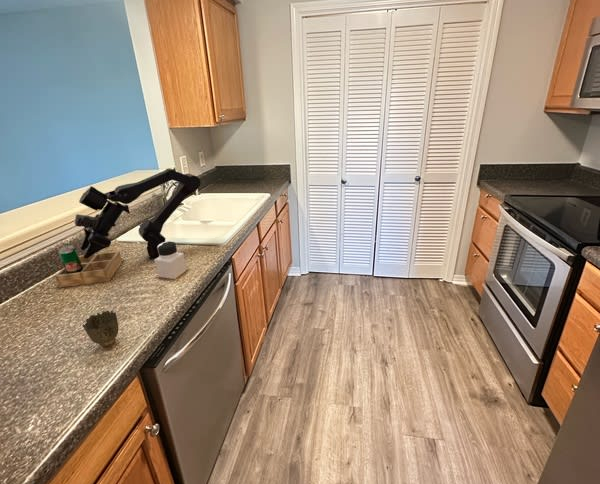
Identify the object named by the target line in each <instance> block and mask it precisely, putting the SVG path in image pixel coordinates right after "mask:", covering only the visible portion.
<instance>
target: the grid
mask: <svg viewBox="0 0 600 484" xmlns="http://www.w3.org/2000/svg"><path fill="white" fill-rule="evenodd" d="M84 255H85V254H83V255H78V256H79V258H80V261H81V264H82V267H83V270H82V271H81V272H78V273H71V274H67V273H66V270H65V268H64V267H63V268H62V269H61V270H60V271H59V272H58V273H57V274H56V275H55V276H54V277H55V279H56V282H57V285H58V287H59V288H67V287H73V286H81V285H82V286H83V285H90V284H96V283H103V282H109V281H111V279H112V277H113V275H114V274H115V273H116V271H117V270H118V268H119V267H120V265H121V264H122V262H123V259H122V256H121V252H120V251H119V250H115V251H107V252H98V253H95V254H94V255H92V256H90V257H89V258H87V259H86V258H84Z"/></svg>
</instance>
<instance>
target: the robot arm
mask: <svg viewBox="0 0 600 484" xmlns="http://www.w3.org/2000/svg"><path fill="white" fill-rule="evenodd" d="M170 181H175V182H177V183H178V184H177V187H176V189H175V191H174V192H173V193H172V194H171V196H170V197H169V198H168V199H167V200H166V202H165V203H164V204H163V205H162V207H160V209H159V210H158V211H157V212H156V214H155V215H154V216H153V217H151V218H150V219H149V218H147V217H145V218H144V220H143V222H141V223H140V224H139V228H138V234H139V236H140V237H141V238H142V239H143V241H145V242H147V243H146V245H147V246H146V250H147V254H148V257H149V260H155V259H156V258H158V257H159V252H158V248H157V247H158V245H159V244H161V243H163V242H166V237H165V236H164V235H163V234H162V230H163V227H164V225H165V223H166V222H167V221H168V220H169V218H170V217H171V216H172V215H173V213H174V212H175V211H176V210H177V209H178V208H179V206H180V205H181V204H182V203H183V202H184V200H185V199H186V198H187V197H188V196H190V195H192V194H194V193H195V192H196V191H198V189H200V187H201V185H202V183H201V179H200V177H198V176H197V175H195V174H192V173H185V174H184V173H181V172H179V171H176V170H175V169H173V168H171V167H169V168H166V169H165V170H162V171H160V172H158V173H156V174H153V175H151V176H149V177H147V178H144V179H142V180H140V181H137V182H132V183H126V184H122V185H118V186H116V187H115V188H114V189H113V190H110V191H108V192H105V193H104V192H102V191H100V190H99V189H98V188H96V187H94V186H92V185H91V186H89V188H88V189H87V190H85V191H84V192H83V193H82V195H81V197H80V198H79V203H80V204H82V205H84V206H85V207H88V208H89V209H91V210H94V211H95V212H96V211H101V212H100V213H97V214H96V215H95V216H90V215H85V214H84V215H83V214H79V213H77V214H76V215H75V218H74V225H75V226H76V227H79V228H80V227H83V231H84V238H83V240H82V243H81V246H80V250H81V251H85V250H86V251H85V253H84V254H83V255H84V258H86V259H87V258H89V257H90V256H92V255H94V254H98V253H100V252H101V251H103V250H104V249H107V248H109V247H110V246H111V244H112V239H111V238H110V237H109V236H110V232H111V230H112V229H113V228H115V227H116V226H117V224H116V223H117V222H118V220H119V218H120V217H121V216H122V214H123V213H124V212H125V213H127V214H130V213H131V211H130V209H129V207H130V206H129V204H131V203H133V202H134V201H136V200H137V199H138V198H140V197H141V195H143V194H144V193H147V192H148V191H151V190H153V189H155V188H157V187H160V186H162V185H164V184H166V183H168V182H170Z"/></svg>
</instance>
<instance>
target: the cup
mask: <svg viewBox="0 0 600 484" xmlns="http://www.w3.org/2000/svg"><path fill="white" fill-rule="evenodd" d="M82 328H83V329H84V331H85V332H86V333H85V334H86V335H87V337H89V339H90V341H92V342H93V343H94V344H97V345H99V346H100V347H101V348H109V347H111V346H113V345H114V344H115V343H116V341H117V339H116V338H117V336H118V334H119V321H118V316H117V312H116V311H113V310H111V311H110V310H107V309H106V311H105V310H102V312H101V313H100V312H97V313H96V314H90V315H89V316H88V318H85V323H82Z"/></svg>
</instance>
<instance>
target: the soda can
mask: <svg viewBox="0 0 600 484" xmlns="http://www.w3.org/2000/svg"><path fill="white" fill-rule="evenodd" d="M58 254H59V258H60V261H61V263H62V265H63V268H65V270H66V273H67V274H71V273H78V272H81V271H82V270H83V267H82V264H81V261H80V258H79V256H80V255H79V253H78V249H77V248H76V247H75V246H74V245H65V246H62V247H61V248H58Z"/></svg>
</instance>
